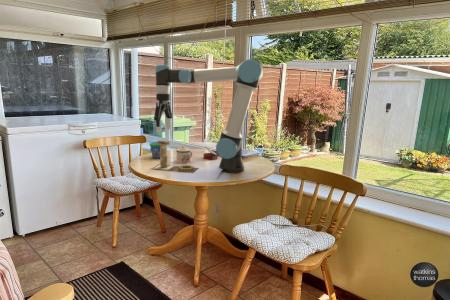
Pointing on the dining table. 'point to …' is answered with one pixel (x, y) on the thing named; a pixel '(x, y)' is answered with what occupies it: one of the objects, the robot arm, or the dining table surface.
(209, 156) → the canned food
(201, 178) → the dining table surface
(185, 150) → the teacup with lid
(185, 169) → the board
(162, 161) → the carved statue
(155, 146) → the snack cup
